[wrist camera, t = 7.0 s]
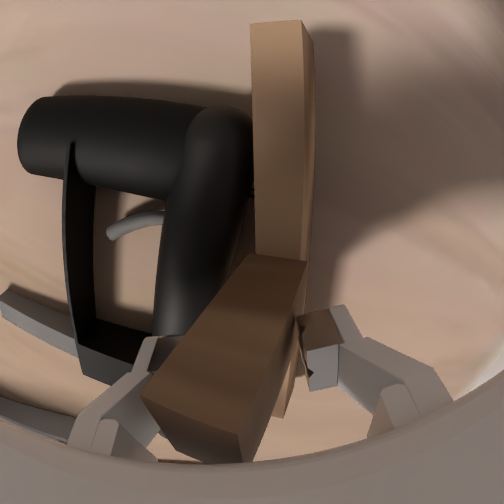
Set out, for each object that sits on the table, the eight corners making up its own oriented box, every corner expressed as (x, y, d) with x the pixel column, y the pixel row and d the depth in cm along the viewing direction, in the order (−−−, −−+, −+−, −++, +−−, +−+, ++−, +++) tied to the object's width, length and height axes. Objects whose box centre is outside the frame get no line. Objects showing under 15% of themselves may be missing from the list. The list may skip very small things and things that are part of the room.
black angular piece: (18, 375, 14) (204, 450, 15) (-22, 100, 6) (309, 124, 7) (36, 351, 17) (209, 414, 18) (17, 99, 9) (294, 128, 10)
